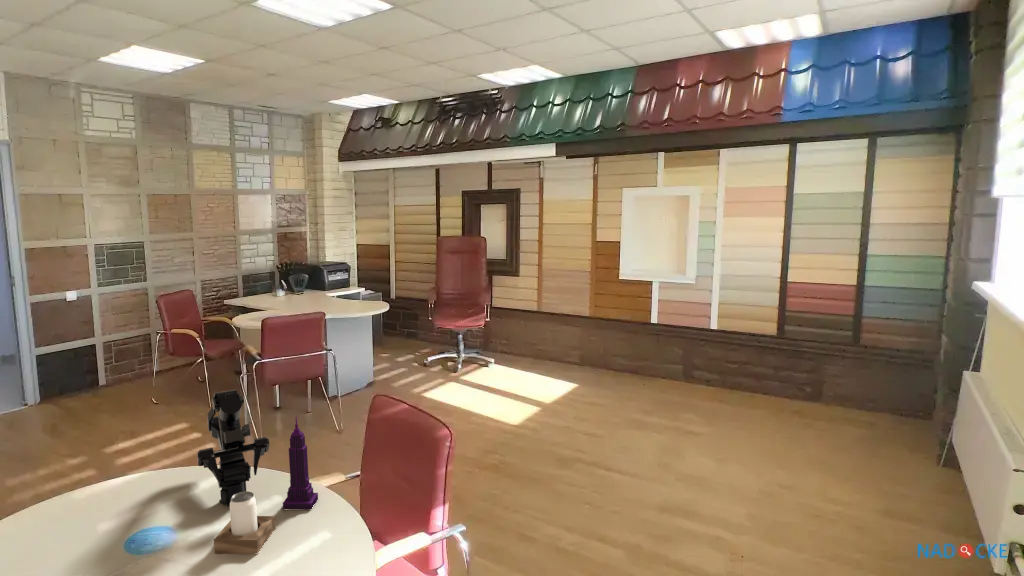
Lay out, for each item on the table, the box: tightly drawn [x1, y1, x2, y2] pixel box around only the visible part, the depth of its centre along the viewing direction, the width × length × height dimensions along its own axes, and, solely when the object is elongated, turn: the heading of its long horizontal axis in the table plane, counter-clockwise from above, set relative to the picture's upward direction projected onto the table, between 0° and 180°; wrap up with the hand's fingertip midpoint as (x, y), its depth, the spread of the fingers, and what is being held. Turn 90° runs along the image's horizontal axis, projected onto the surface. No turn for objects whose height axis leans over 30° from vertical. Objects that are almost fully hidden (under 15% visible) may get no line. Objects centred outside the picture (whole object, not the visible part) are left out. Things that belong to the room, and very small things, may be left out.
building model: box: [282, 417, 319, 510], centre depth 172 cm, size 9×6×30 cm
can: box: [229, 490, 258, 536], centre depth 155 cm, size 6×6×12 cm
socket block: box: [213, 515, 276, 555], centre depth 155 cm, size 11×11×4 cm
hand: (238, 478), depth 162 cm, fingers open, 9 cm apart
